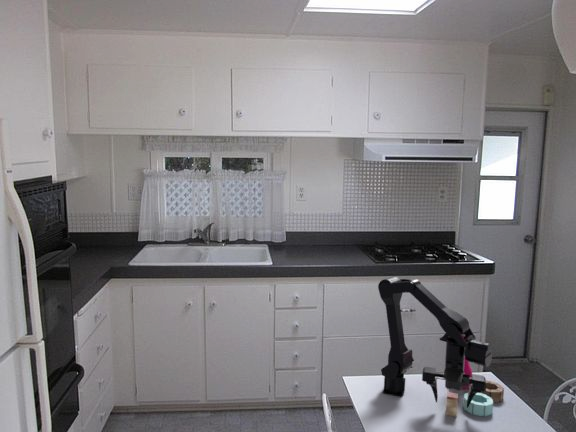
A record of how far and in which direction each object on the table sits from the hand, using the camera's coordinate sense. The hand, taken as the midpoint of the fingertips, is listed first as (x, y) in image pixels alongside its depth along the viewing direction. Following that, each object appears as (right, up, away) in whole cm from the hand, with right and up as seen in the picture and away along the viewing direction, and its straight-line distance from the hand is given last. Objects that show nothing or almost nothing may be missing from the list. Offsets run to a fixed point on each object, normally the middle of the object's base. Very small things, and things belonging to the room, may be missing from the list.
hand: (451, 404), depth 150 cm
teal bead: (+9, -3, +3) cm, 10 cm away
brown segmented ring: (+17, -2, +12) cm, 21 cm away
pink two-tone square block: (0, -3, 0) cm, 3 cm away
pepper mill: (+10, -1, +20) cm, 22 cm away
